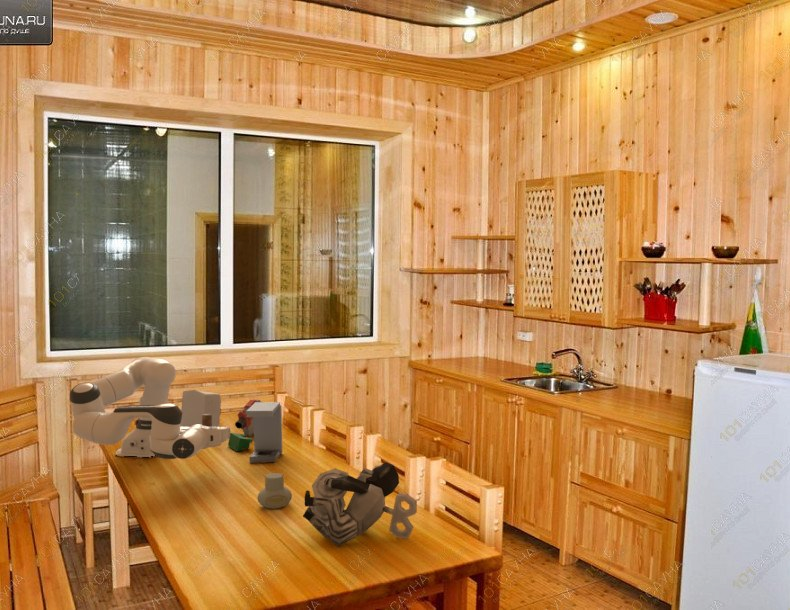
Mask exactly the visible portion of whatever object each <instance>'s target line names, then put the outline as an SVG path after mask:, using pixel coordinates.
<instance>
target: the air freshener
mask: <svg viewBox="0 0 790 610" xmlns="http://www.w3.org/2000/svg"><path fill="white" fill-rule="evenodd" d="M284 482H285V481H284V475H283V474H282V473H278V472H276V473H274V472H273V473H268V474H266V475H265V476H264V488H262V489H261V490H260V491H259V492H258V494H257V497H256V498H257V502H258V503H259V504H260V505H261V506H262V507H264V508H265V509H269V510H270V509H271V510H279V509H281V508H283V507H285V506H287V505H289V503H290V502H291V500H292V498H293V495H292V491H291V490H290V489H289V488H288V487H285V483H284Z"/></svg>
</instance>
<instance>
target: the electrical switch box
mask: <svg viewBox="0 0 790 610" xmlns="http://www.w3.org/2000/svg"><path fill="white" fill-rule="evenodd" d="M221 400H222V398H221V394H220V393H217V392H208V391H201V390H200V391H199V390H196V389H192V390H191V389H190V390H183V391H182V397H181V408H180V410H181V411H182V413H183V414H182V420H181V424H180V427H191V426H192V425H196V424H199V425H202V415H203V414H212V426H216V427H220V418H221V414H222V413H221V411H222V409H221V406H222V401H221Z"/></svg>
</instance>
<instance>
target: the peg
mask: <svg viewBox="0 0 790 610" xmlns="http://www.w3.org/2000/svg"><path fill="white" fill-rule="evenodd" d="M202 425H203V426H207V427H212V414H203V415H202Z"/></svg>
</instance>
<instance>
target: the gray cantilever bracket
mask: <svg viewBox="0 0 790 610" xmlns="http://www.w3.org/2000/svg"><path fill="white" fill-rule="evenodd" d="M282 414H283V413H282V405H281V402H279V401H274V402H272V401H270V402H269V401H268V402H267V401H265V402H262V401H261V402H255V403H254V404H253V405H252V406H251V407H250V408H249V409H248V410H247V411H246V415H247V417H253V418H254V435H253V445H254V447H253V448H254V450H253V452H254V451H255V450H280V454H282V453H284V452H283V422H282V420H283V419H282V418H283V417H282ZM282 455H283V454H282Z"/></svg>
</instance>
